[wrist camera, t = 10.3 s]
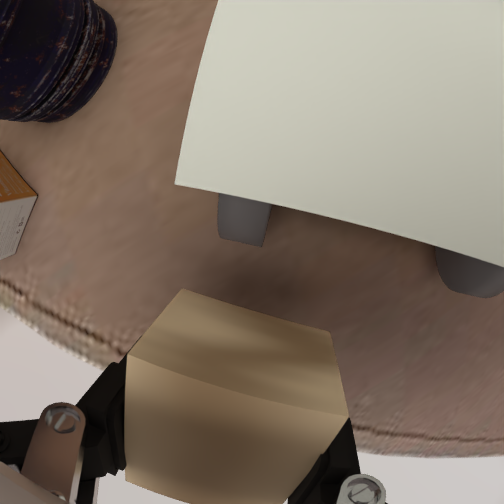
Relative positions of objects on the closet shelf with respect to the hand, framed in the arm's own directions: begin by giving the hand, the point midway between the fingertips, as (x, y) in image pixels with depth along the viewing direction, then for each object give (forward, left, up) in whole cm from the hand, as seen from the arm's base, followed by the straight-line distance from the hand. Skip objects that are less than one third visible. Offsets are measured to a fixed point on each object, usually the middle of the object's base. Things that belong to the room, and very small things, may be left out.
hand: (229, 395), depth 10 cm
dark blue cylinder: (+17, -13, -10) cm, 24 cm away
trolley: (-5, -13, -9) cm, 17 cm away
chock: (0, 0, -1) cm, 1 cm away
